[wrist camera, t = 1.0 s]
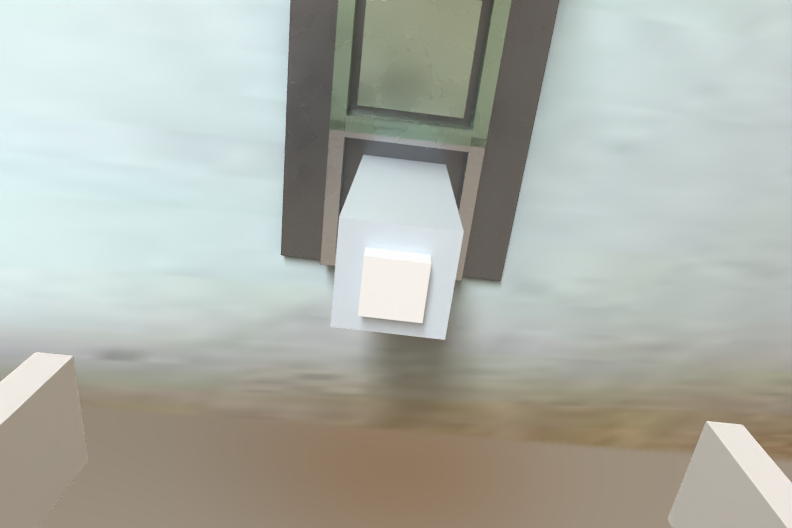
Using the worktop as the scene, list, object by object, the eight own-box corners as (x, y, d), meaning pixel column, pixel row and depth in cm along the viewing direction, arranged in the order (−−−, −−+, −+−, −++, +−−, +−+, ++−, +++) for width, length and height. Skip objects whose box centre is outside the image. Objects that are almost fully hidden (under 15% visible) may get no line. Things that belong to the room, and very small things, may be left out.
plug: (356, 232, 32) (327, 337, 21) (363, 154, 30) (336, 224, 19) (434, 241, 32) (446, 350, 21) (445, 164, 30) (465, 239, 19)
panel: (282, 252, 33) (277, 261, 31) (294, -56, 27) (288, -60, 25) (499, 277, 33) (503, 288, 32) (561, -21, 27) (569, -24, 25)
